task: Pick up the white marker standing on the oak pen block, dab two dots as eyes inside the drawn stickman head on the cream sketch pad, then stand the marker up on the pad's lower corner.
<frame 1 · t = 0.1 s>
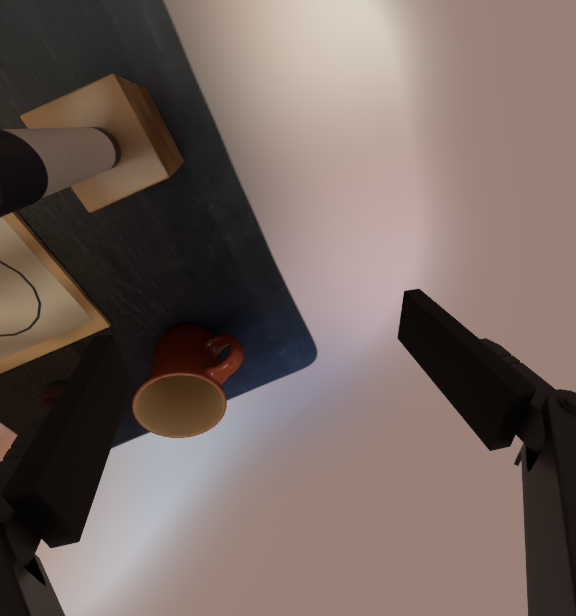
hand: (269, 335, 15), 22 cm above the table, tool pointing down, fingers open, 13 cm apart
mug: (199, 337, 40), on the table
watch: (82, 394, 41), on the table
marker: (99, 149, 20), point 10 cm above the table, touching pen block
pen block: (136, 141, 28), on the table
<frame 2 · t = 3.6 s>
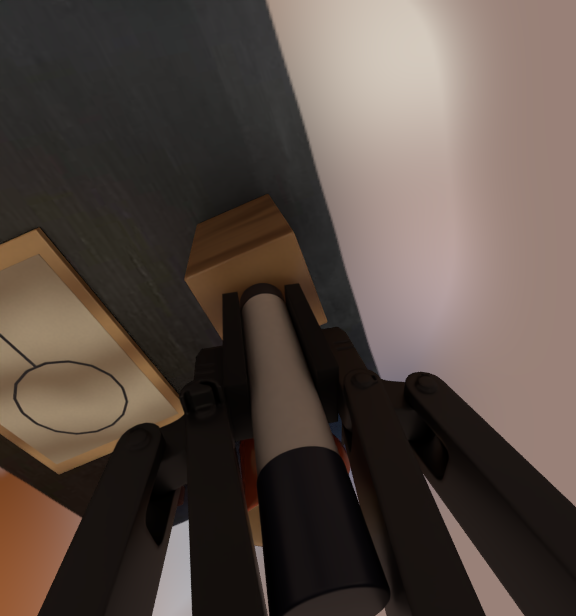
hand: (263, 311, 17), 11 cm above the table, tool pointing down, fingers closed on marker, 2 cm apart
mug: (281, 420, 37), on the table
marker: (261, 302, 17), point 10 cm above the table, touching gripper
pen block: (248, 243, 26), on the table
sketch pad: (52, 373, 29), on the table
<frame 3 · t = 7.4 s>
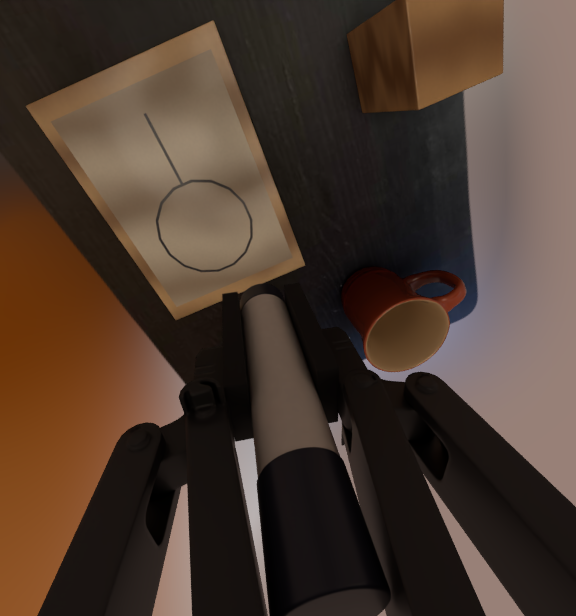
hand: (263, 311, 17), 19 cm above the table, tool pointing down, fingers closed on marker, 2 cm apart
mug: (376, 282, 40), on the table
marker: (262, 303, 17), point 18 cm above the table, touching gripper
pen block: (386, 62, 28), on the table
sketch pad: (191, 198, 31), on the table
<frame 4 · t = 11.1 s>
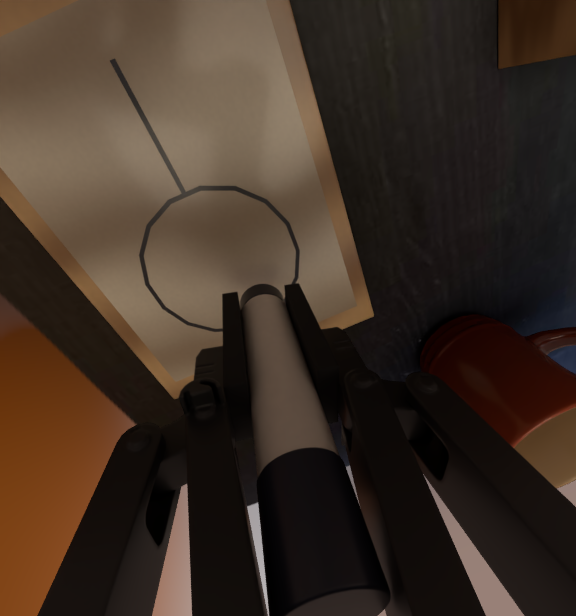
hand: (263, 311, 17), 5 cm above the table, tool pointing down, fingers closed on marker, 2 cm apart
mug: (469, 333, 27), on the table
marker: (261, 303, 17), point 4 cm above the table, touching gripper
sketch pad: (199, 218, 18), on the table
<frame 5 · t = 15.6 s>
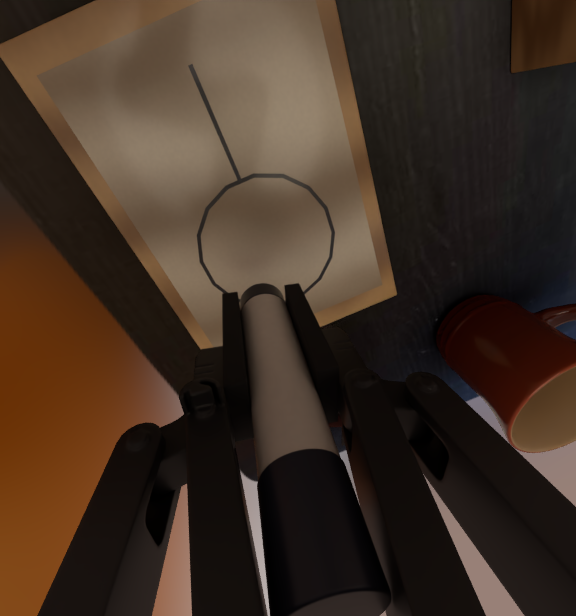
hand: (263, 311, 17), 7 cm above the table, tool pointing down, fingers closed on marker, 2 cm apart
mug: (481, 313, 29), on the table
marker: (262, 302, 17), point 6 cm above the table, touching gripper
sketch pad: (249, 202, 21), on the table
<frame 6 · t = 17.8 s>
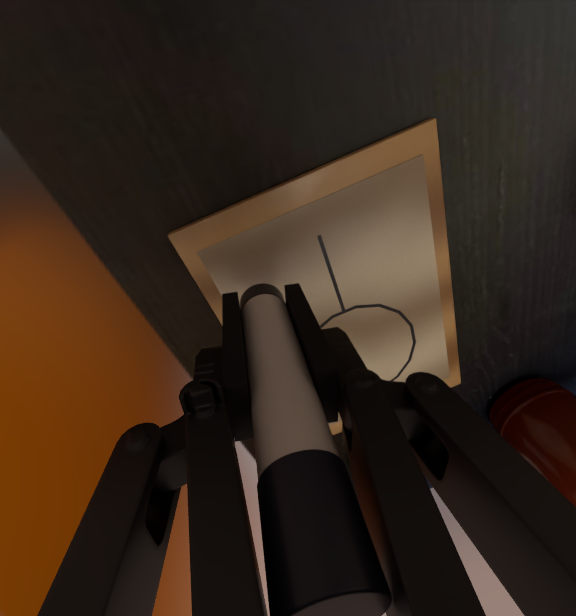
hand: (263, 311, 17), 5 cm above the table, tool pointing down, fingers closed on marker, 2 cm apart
mug: (530, 390, 32), on the table
marker: (261, 302, 17), point 4 cm above the table, touching gripper
sketch pad: (346, 322, 24), on the table
when the fingers open (2 cm above the table, at t = 18.8 s): marker stays where it is, resting on sketch pad.
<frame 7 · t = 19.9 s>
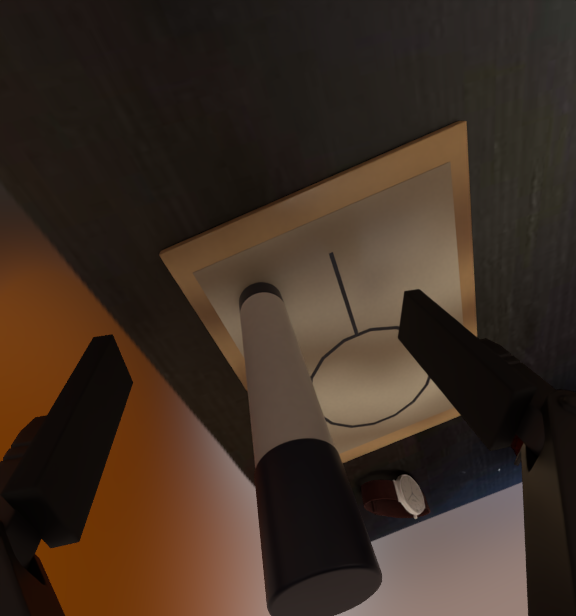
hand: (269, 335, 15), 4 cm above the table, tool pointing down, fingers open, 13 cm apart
watch: (387, 483, 31), on the table
marker: (260, 301, 18), point 1 cm above the table, touching sketch pad
sketch pad: (358, 345, 22), on the table
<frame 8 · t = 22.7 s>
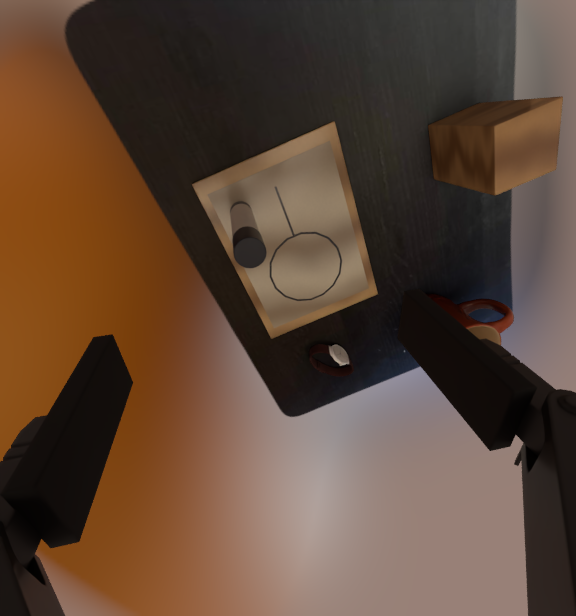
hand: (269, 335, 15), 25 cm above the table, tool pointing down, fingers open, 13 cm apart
mug: (431, 305, 48), on the table
watch: (328, 354, 49), on the table
marker: (241, 212, 35), point 1 cm above the table, touching sketch pad
pen block: (455, 142, 36), on the table
sketch pad: (297, 245, 39), on the table
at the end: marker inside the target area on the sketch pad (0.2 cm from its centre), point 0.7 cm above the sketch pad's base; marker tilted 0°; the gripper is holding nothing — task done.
